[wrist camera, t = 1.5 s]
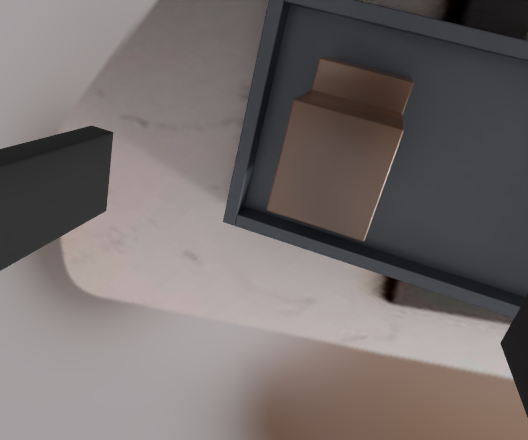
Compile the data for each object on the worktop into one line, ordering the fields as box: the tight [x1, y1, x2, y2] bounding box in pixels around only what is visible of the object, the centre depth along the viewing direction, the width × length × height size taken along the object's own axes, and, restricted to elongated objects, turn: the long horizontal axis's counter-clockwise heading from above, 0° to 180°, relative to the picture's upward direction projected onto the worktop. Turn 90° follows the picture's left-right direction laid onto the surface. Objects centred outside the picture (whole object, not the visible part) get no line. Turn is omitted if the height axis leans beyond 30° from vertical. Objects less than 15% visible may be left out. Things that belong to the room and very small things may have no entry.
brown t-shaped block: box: [266, 56, 414, 241], centre depth 22 cm, size 4×8×8 cm, turn 167°
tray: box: [223, 0, 528, 318], centre depth 25 cm, size 22×14×2 cm, turn 77°
